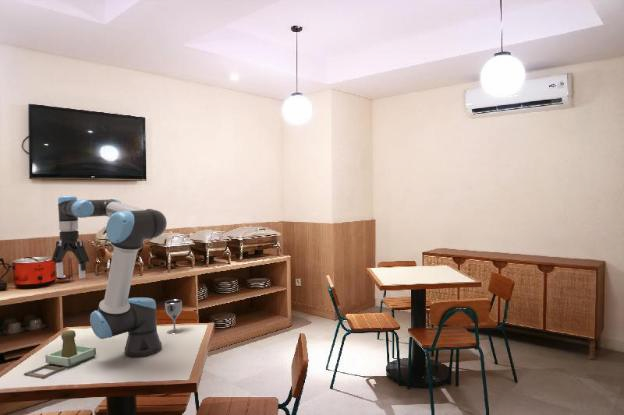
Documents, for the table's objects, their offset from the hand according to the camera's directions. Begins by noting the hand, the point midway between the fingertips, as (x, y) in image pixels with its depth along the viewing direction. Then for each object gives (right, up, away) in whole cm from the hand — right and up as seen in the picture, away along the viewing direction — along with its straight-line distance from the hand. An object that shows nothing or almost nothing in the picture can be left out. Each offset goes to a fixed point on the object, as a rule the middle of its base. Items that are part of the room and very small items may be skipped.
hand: (71, 277), depth 197 cm
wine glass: (+40, -30, +20) cm, 54 cm away
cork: (+9, -30, -17) cm, 36 cm away
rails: (+8, -32, -21) cm, 39 cm away
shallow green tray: (+9, -32, -16) cm, 37 cm away
